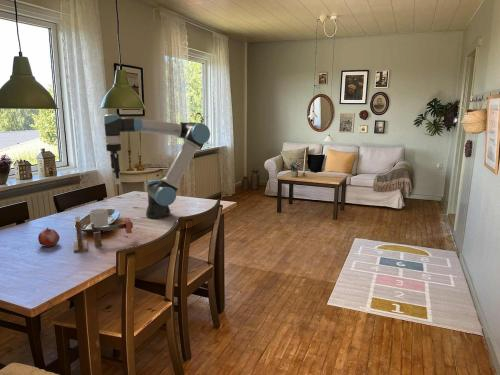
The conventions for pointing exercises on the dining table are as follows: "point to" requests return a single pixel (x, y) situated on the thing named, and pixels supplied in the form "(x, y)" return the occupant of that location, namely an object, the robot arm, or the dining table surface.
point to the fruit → (48, 237)
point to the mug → (99, 217)
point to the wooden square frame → (79, 238)
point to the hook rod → (115, 227)
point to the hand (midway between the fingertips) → (116, 181)
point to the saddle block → (97, 239)
